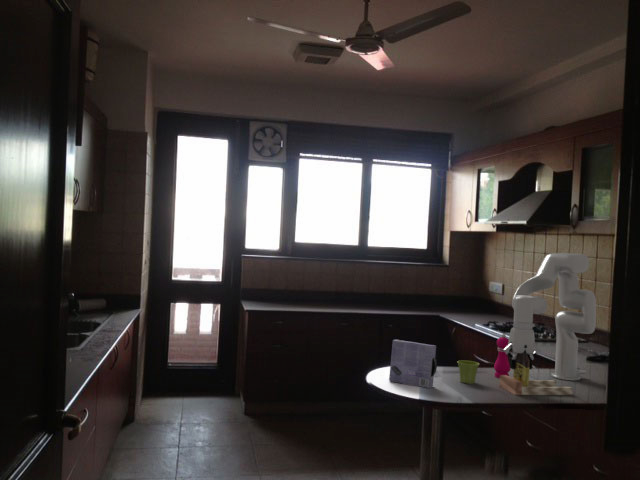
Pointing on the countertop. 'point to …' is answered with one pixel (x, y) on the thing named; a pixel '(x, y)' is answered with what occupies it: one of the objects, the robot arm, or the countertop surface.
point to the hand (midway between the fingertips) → (520, 368)
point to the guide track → (533, 387)
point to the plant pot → (467, 371)
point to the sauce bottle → (522, 368)
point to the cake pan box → (413, 363)
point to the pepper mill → (502, 358)
